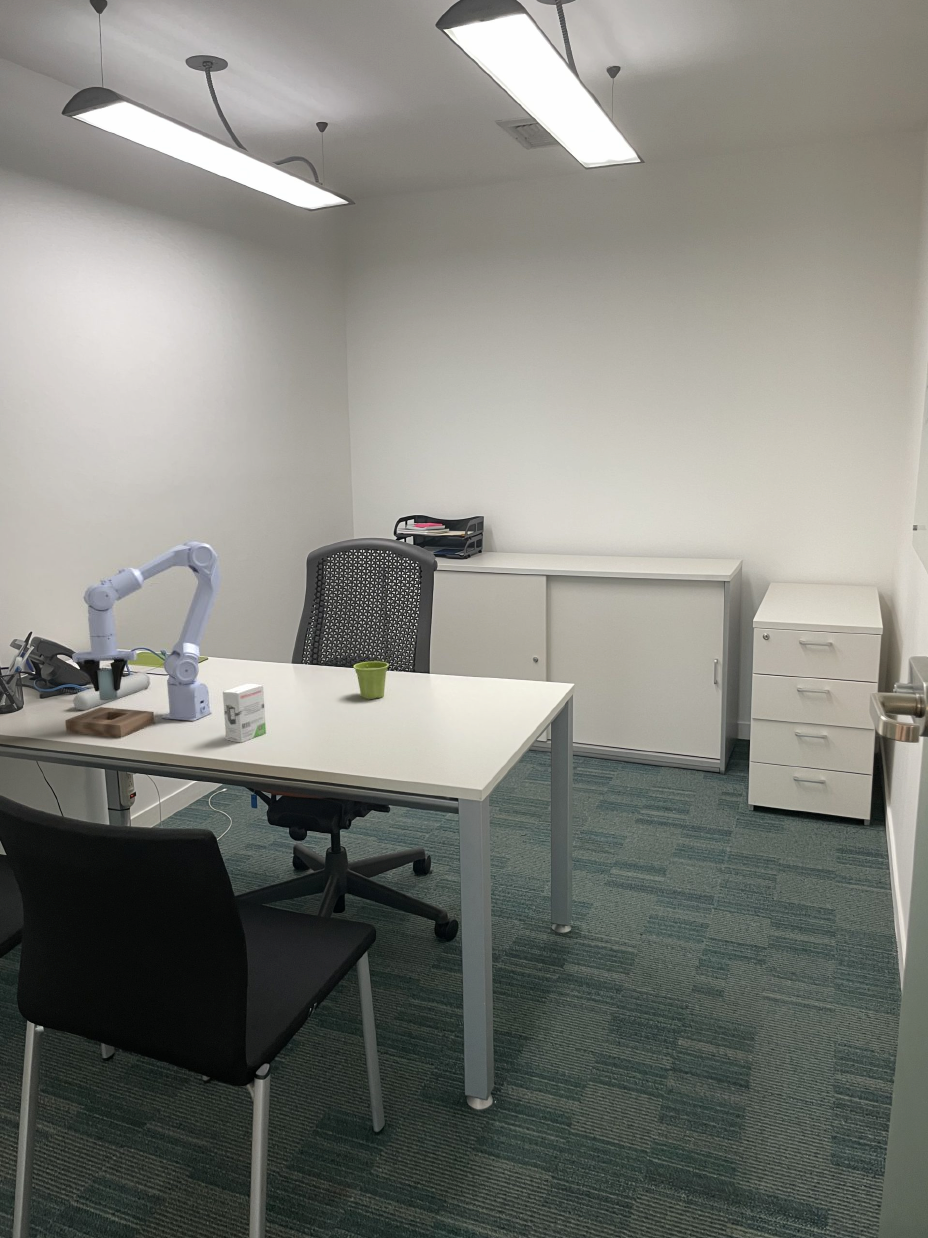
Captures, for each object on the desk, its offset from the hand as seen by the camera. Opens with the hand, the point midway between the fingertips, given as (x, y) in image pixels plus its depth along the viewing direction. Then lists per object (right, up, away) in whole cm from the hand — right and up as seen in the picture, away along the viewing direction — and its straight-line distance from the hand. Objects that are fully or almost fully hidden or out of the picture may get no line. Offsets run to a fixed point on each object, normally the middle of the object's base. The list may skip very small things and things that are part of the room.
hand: (107, 690), depth 222 cm
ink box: (+35, -10, -7) cm, 37 cm away
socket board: (0, -9, +2) cm, 9 cm away
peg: (0, -2, +1) cm, 2 cm away
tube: (-10, -5, +29) cm, 31 cm away
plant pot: (+61, -4, +26) cm, 67 cm away
